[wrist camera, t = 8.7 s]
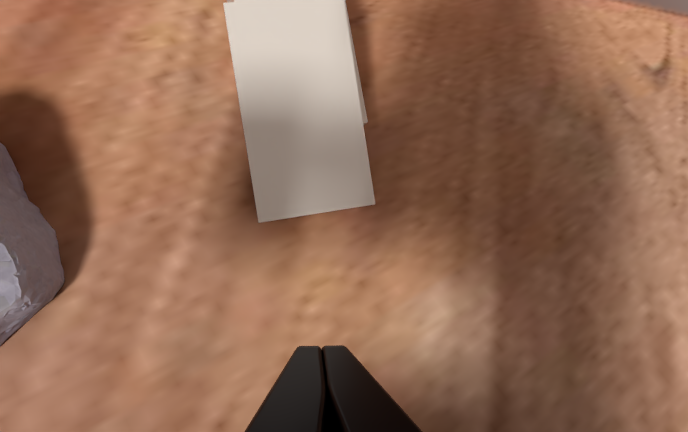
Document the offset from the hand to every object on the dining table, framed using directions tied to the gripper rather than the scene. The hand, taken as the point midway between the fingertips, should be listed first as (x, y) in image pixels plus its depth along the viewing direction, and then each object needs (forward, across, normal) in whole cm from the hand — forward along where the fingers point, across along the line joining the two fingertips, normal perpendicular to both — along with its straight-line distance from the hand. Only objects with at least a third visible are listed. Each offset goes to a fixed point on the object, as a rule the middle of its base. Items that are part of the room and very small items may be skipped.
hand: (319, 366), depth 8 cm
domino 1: (+12, 0, +2) cm, 12 cm away
